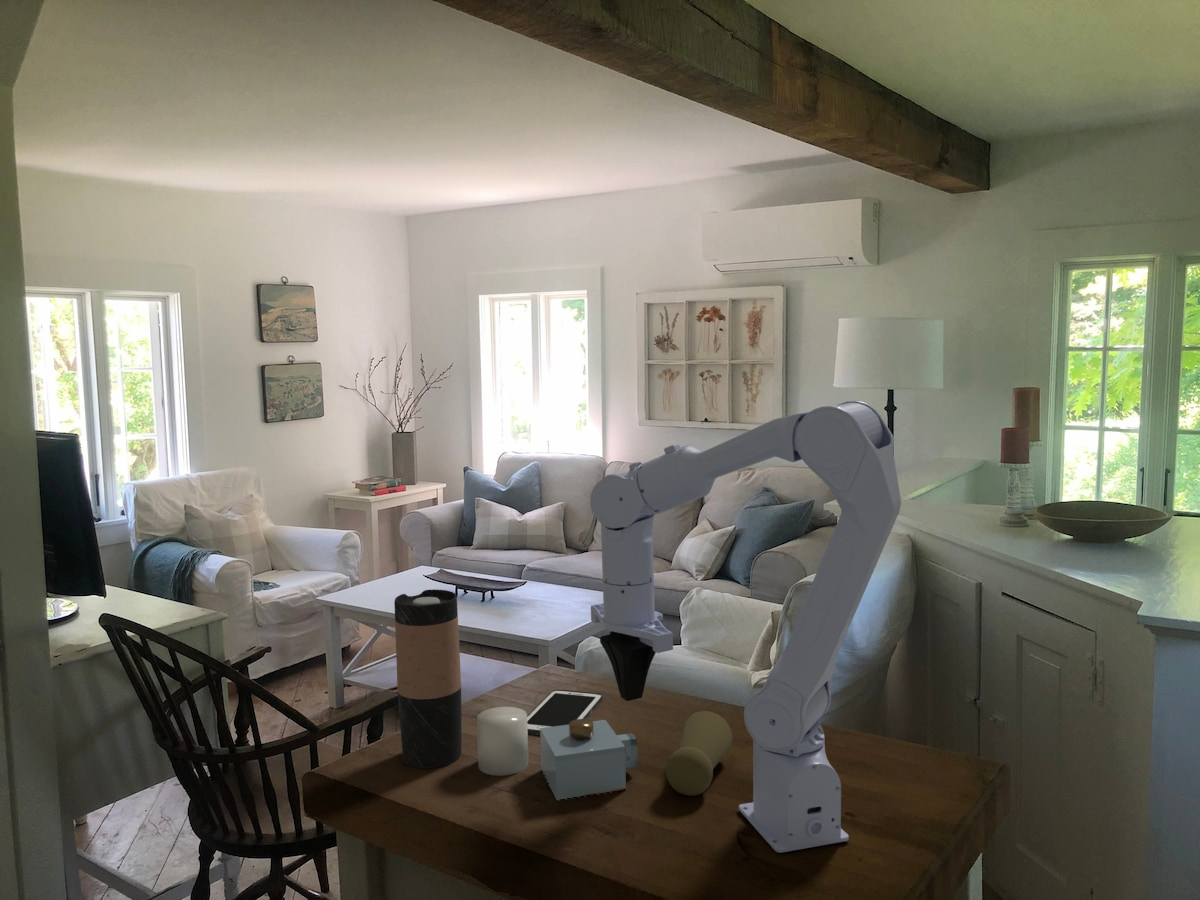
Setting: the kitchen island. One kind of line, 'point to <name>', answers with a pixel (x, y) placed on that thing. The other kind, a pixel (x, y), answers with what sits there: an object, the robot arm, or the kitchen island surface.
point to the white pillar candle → (502, 740)
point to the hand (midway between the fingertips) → (631, 697)
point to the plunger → (581, 729)
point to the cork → (698, 752)
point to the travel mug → (428, 677)
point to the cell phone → (561, 709)
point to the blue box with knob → (586, 760)
